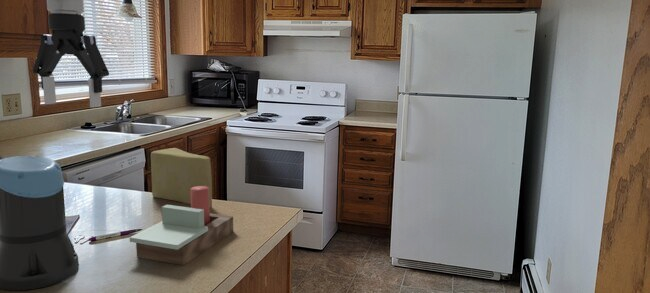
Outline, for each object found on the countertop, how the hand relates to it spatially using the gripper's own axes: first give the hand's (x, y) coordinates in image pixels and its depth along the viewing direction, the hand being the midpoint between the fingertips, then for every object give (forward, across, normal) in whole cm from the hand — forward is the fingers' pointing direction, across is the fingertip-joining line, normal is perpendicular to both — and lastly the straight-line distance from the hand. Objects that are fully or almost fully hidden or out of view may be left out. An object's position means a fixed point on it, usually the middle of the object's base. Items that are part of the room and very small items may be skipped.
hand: (72, 105), depth 118 cm
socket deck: (+32, -29, -3) cm, 43 cm away
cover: (+27, -29, +4) cm, 40 cm away
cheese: (+32, -9, -32) cm, 46 cm away
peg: (+32, -29, -9) cm, 44 cm away
